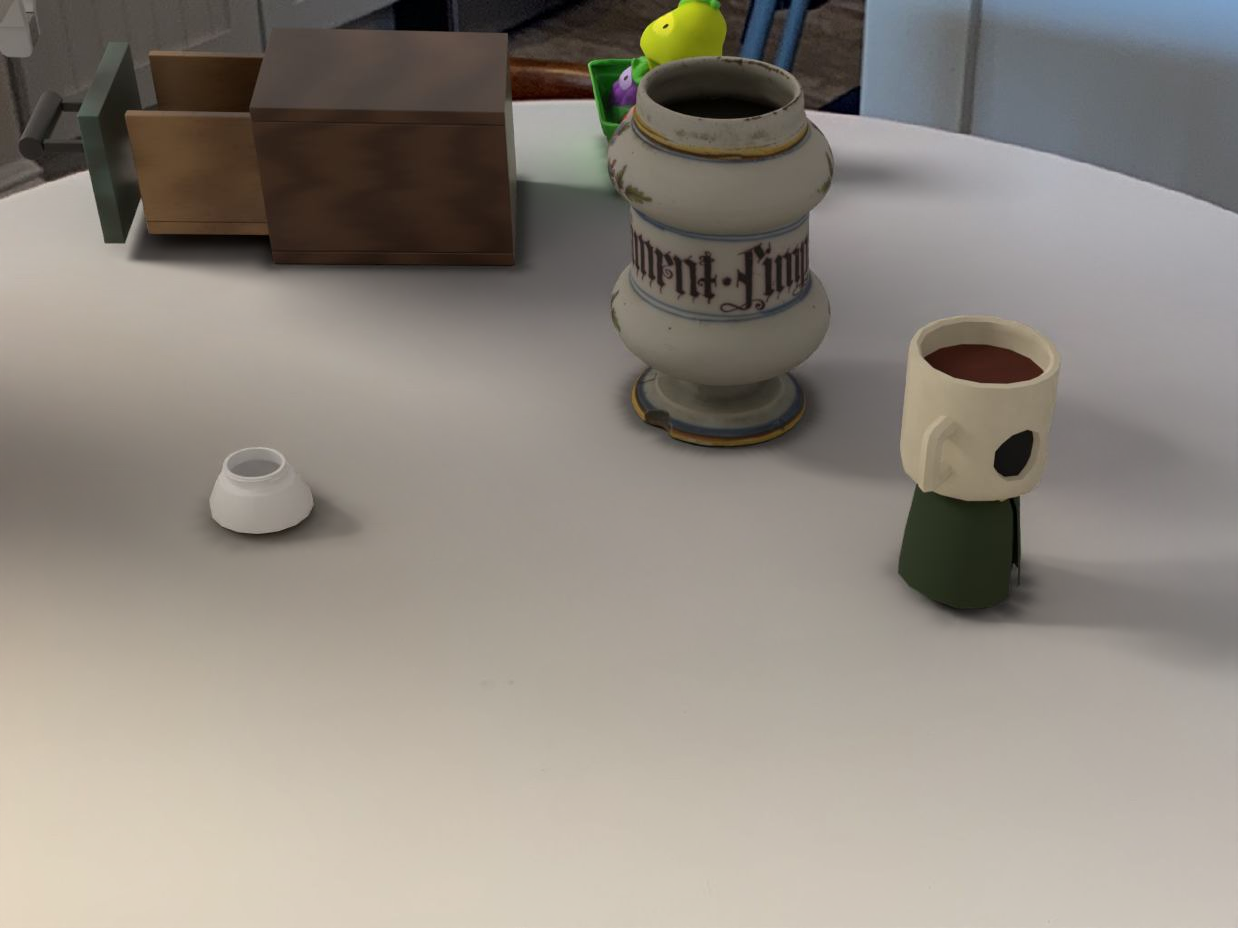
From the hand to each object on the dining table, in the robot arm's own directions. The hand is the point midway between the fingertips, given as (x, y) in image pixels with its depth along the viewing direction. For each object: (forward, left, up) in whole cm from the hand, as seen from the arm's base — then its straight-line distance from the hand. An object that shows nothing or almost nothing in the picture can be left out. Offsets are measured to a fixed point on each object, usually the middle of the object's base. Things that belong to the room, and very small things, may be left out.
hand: (21, 48), depth 112 cm
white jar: (+16, -34, -11) cm, 39 cm away
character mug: (+51, -41, -11) cm, 66 cm away
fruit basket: (+38, +9, -11) cm, 40 cm away
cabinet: (+21, 0, -10) cm, 23 cm away
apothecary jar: (+40, -23, -11) cm, 47 cm away
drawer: (+8, 0, -9) cm, 13 cm away
